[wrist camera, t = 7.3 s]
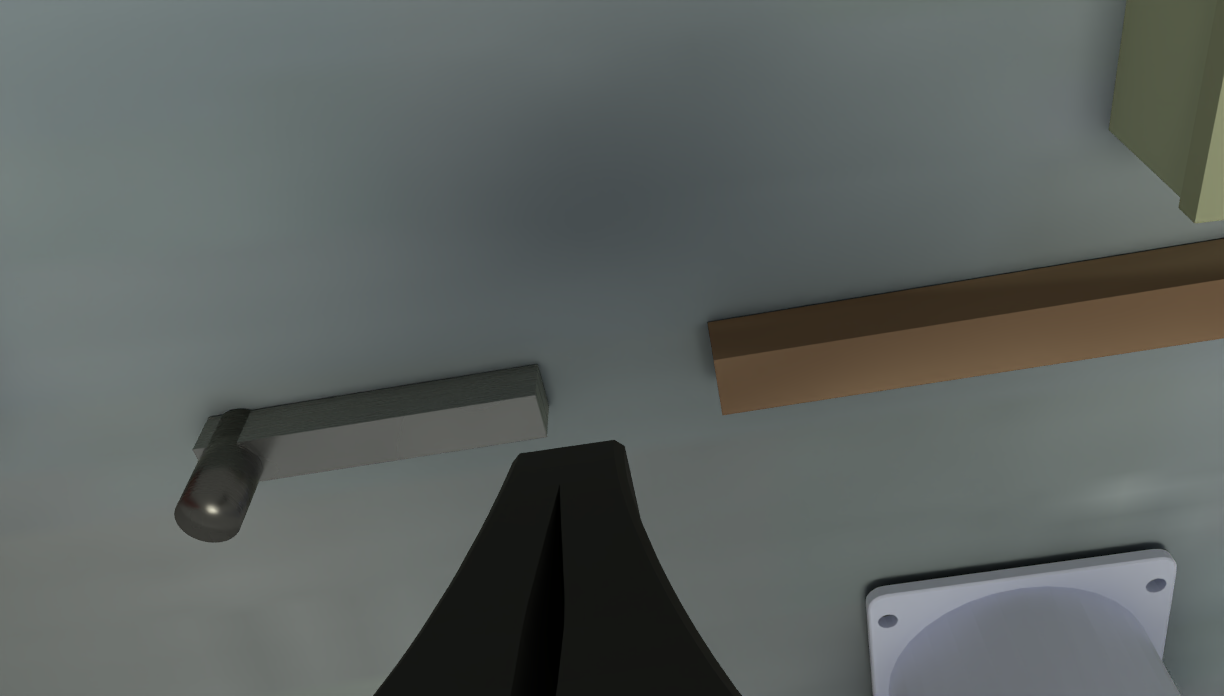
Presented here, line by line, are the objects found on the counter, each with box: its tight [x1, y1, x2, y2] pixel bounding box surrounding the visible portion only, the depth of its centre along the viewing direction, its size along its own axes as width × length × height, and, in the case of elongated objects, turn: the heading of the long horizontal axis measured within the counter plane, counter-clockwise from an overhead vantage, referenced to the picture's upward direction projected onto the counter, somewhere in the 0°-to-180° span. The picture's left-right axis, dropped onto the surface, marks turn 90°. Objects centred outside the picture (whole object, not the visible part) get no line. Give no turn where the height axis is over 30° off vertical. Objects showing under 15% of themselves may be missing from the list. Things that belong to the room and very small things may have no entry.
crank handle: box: [174, 364, 549, 542], centre depth 24 cm, size 8×1×3 cm, turn 101°
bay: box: [708, 239, 1224, 415], centre depth 18 cm, size 15×18×3 cm
